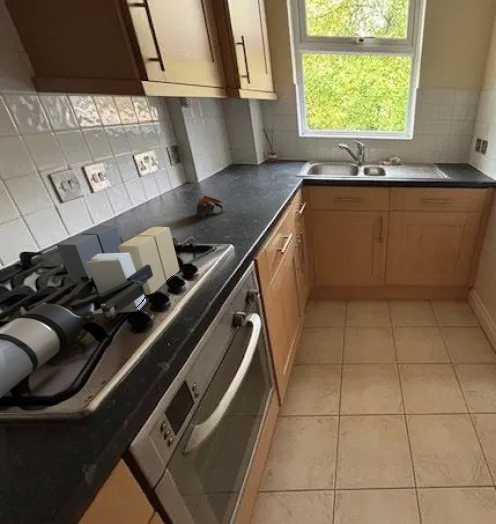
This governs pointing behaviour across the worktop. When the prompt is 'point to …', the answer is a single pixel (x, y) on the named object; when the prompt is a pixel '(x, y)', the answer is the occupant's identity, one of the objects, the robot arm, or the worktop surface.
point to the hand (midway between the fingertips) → (133, 269)
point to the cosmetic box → (113, 274)
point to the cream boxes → (153, 255)
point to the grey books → (88, 249)
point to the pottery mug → (208, 205)
